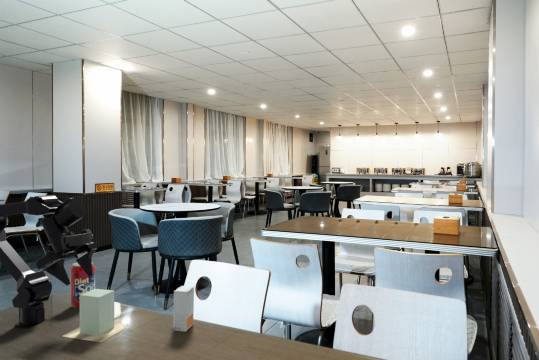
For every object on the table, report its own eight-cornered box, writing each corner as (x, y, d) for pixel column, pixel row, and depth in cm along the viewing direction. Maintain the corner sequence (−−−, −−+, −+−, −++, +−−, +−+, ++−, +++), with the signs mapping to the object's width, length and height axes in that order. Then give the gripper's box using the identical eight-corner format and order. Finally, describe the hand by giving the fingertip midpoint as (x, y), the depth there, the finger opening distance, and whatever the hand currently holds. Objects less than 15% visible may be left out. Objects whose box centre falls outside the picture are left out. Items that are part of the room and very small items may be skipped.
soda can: (80, 301, 146) (80, 260, 146) (99, 303, 144) (99, 261, 144) (65, 309, 138) (65, 265, 138) (85, 310, 137) (85, 266, 136)
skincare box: (186, 332, 120) (186, 292, 120) (172, 330, 121) (173, 291, 121) (194, 324, 126) (194, 286, 126) (181, 323, 127) (181, 285, 127)
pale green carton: (79, 333, 116) (79, 295, 115) (95, 324, 122) (95, 288, 122) (99, 336, 114) (99, 297, 114) (114, 327, 120) (114, 290, 120)
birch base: (61, 339, 114) (61, 318, 113) (93, 323, 126) (93, 303, 126) (101, 345, 110) (101, 324, 110) (130, 328, 123) (130, 308, 122)
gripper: (52, 225, 110) (77, 277, 109) (98, 217, 128) (120, 261, 127) (24, 243, 113) (47, 294, 111) (73, 233, 131) (94, 276, 129)
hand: (80, 280), depth 119 cm, fingers open, 9 cm apart
